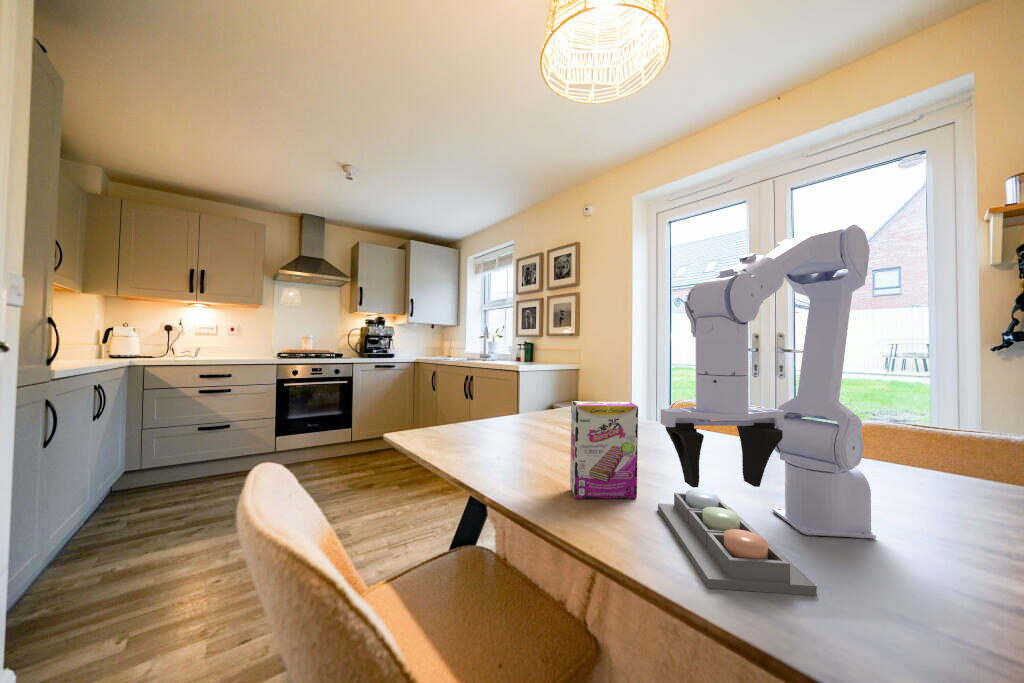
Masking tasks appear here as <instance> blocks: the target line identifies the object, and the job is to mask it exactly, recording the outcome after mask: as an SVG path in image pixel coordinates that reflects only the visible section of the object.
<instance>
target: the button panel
mask: <svg viewBox="0 0 1024 683" xmlns="http://www.w3.org/2000/svg"><path fill="white" fill-rule="evenodd" d="M718 507H719V508H724V509H728V510H731V511H733V512H735V513H737V512H736V511H734V510H733V508H731V506H728V505H727V504H726V503H724V502H723V501H722V500H721V499H720V498H719V497H718ZM657 511H658V512H659V513H660V516H661V517H662V518H663V521H664V522H665V523H666V524H667V526H668V528H669V529H670V531H671V532H672V534H673V536H675V539H676V540H677V541H678V543H679V544H680V546H681V548H682V549H683V551H684V552H685V553H686V555H687V557H688V558H689V560H690V561H691V563H692V565H693V566H694V568H695V569H696V571H697V572H698V574H699V576H700V577H701V579H702V580H703V582H704V584H705V585H706V587H707V588H708V589H717V590H732V591H744V592H745V591H747V592H760V593H761V592H762V593H776V594H789V595H800V596H801V595H804V596H818V595H817V594H818V590H817V589H818V588H817V585H816V584H815V583H814V582H813V581H812V580H811V579H810V578H808V577H807V576H806V575H805V574H804V573H803V572H802V571H801V570H799V569H798V567H797V566H795V565H794V564H793V563H792V562H790V560H789V559H787V558H786V557H785V556H784V554H782V553H781V552H780V551H779V550H777V548H776V547H774V546H773V545H772V544H771V543H770V542H768V540H766V541H767V542H768V560H762V559H745V558H732V557H731V555H730V554H729V553H728V552H727V551H726V550H725V548H724V532H725V531H726V530H708V528H707V527H706V526H705V525H704V524H703V509H700V508H690V507H689V506H688V505H687V504H686V492H684V493H683V492H674V493H673V503H657ZM740 530H745V531H749V532H752V533H755V534H757V535H759V536H761V537H763V536H762V535H761V534H760V533H759V532H758V531H757V530H755V529H754V527H752V526H751V525H750V524H749V523H748V522H747V521H746V520H745V519H743V518H742V517H741V516H740Z"/></svg>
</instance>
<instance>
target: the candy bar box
mask: <svg viewBox="0 0 1024 683" xmlns="http://www.w3.org/2000/svg"><path fill="white" fill-rule="evenodd" d="M570 404H571V407H570V411H571V414H570V416H571V417H570V469H569V472H570V473H569V474H570V477H569V478H570V480H569V482H570V483H569V486H570V488H569V489H570V491H571V492H572V494H573V497H574V499H577V500H578V499H637V498H638V496H637V494H638V445H639V444H638V440H639V435H638V434H639V433H638V432H639V431H638V430H639V429H638V428H639V406H638V405H636V404H635V403H633V402H629V401H593V400H592V401H590V400H589V401H586V400H585V401H584V400H580V401H578V400H577V401H576V400H575V401H571V403H570Z"/></svg>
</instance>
